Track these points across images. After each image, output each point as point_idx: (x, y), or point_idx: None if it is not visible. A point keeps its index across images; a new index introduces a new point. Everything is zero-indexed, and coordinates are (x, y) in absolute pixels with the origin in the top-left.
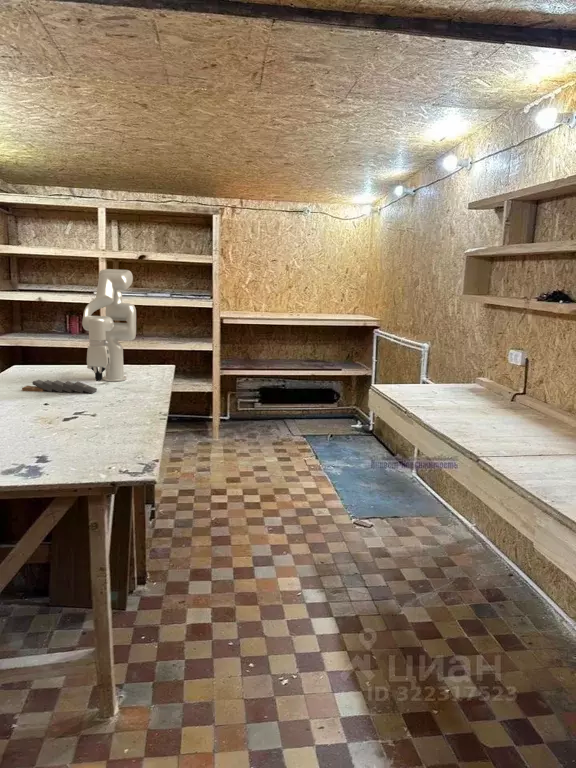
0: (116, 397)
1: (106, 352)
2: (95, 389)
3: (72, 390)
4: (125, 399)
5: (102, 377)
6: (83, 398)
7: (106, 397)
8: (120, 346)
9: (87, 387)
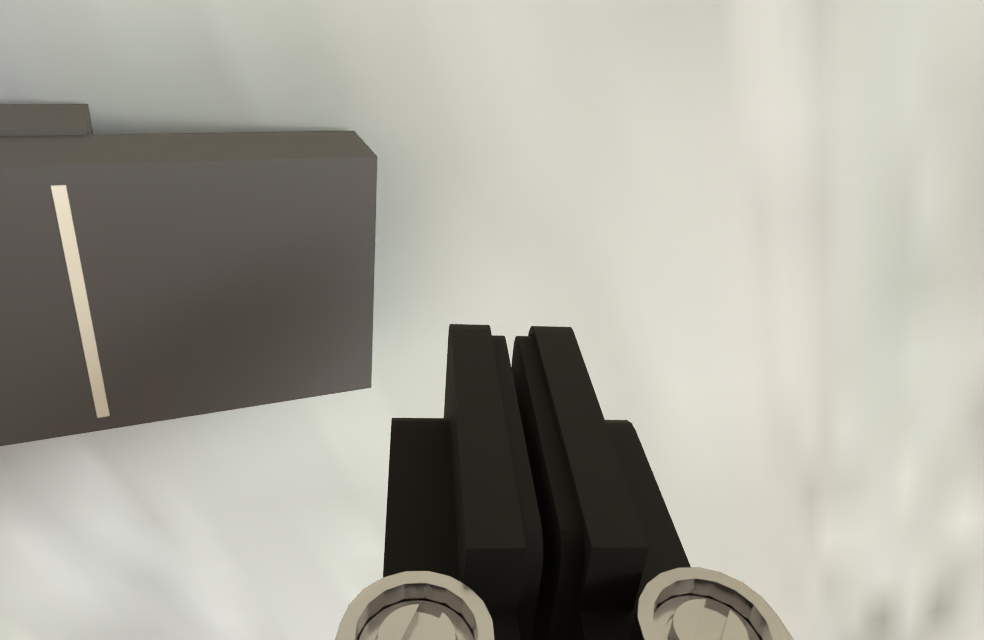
0: (837, 488)
1: None
2: (373, 251)
3: None
4: (966, 566)
5: (637, 441)
6: (336, 606)
7: (677, 510)
8: None
9: (181, 341)
